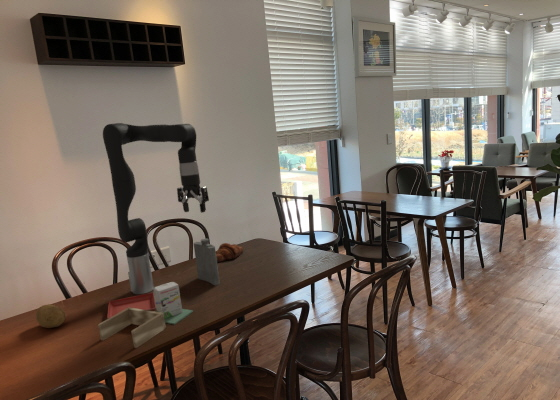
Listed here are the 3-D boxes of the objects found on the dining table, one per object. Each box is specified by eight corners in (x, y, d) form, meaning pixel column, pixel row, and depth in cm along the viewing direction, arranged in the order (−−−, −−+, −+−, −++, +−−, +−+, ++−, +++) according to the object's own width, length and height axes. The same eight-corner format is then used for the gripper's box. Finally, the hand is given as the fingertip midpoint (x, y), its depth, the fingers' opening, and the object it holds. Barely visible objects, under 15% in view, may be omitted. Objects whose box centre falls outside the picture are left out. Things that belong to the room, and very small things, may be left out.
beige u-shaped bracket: (101, 340, 152) (98, 324, 151) (131, 321, 165) (128, 307, 164) (136, 348, 144) (133, 331, 143) (165, 328, 157) (163, 312, 155)
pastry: (216, 253, 242) (215, 240, 240) (243, 251, 242) (242, 237, 240) (212, 263, 225) (210, 249, 224) (242, 260, 225) (240, 246, 224)
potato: (48, 336, 160) (43, 316, 158) (32, 327, 169) (28, 308, 167) (74, 325, 167) (70, 305, 165) (58, 317, 176) (54, 298, 174)
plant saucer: (154, 298, 186) (153, 291, 185) (157, 315, 169) (156, 307, 169) (110, 308, 180) (108, 301, 180) (108, 326, 164) (107, 318, 163)
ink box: (162, 320, 162) (157, 291, 160) (157, 316, 166) (152, 287, 164) (183, 312, 167) (178, 283, 165) (177, 308, 171) (173, 280, 169)
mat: (146, 319, 165) (146, 318, 165) (166, 307, 175) (166, 306, 175) (174, 324, 159) (174, 323, 159) (193, 311, 168) (193, 310, 168)
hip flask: (197, 278, 205) (191, 238, 201) (204, 275, 208) (199, 235, 204) (215, 285, 193) (209, 243, 189) (222, 283, 196) (217, 240, 192)
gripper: (170, 175, 176) (175, 213, 179) (197, 174, 169) (203, 214, 172) (182, 172, 182) (187, 209, 185) (209, 171, 175) (214, 210, 178)
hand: (194, 212), depth 178 cm, fingers open, 8 cm apart
